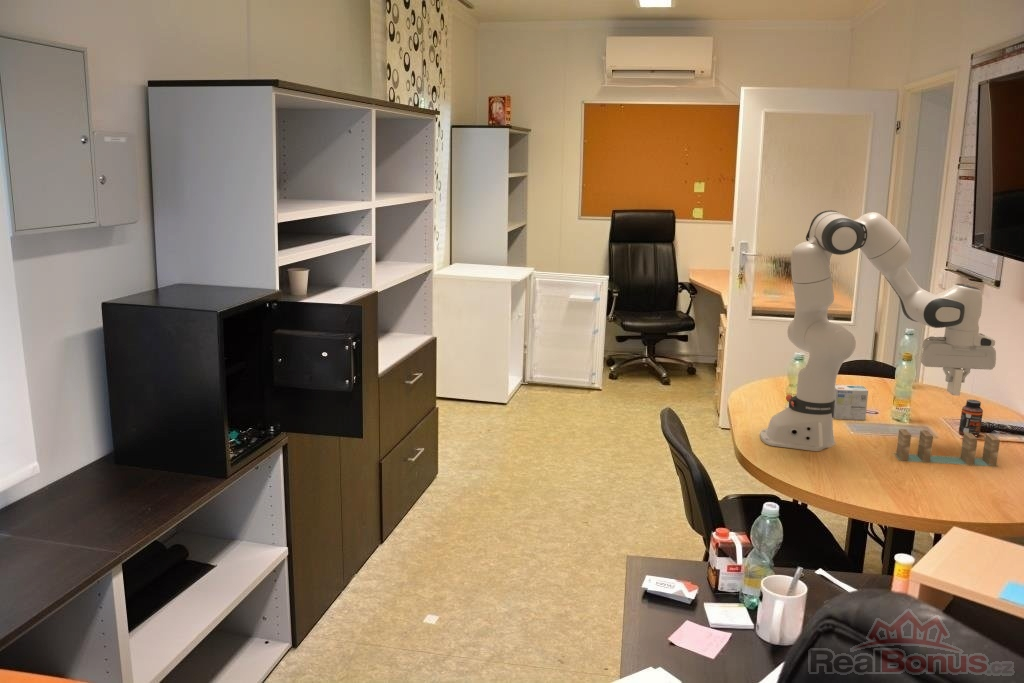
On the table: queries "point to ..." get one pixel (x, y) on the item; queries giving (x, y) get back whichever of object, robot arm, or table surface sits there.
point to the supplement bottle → (971, 418)
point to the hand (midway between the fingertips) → (954, 381)
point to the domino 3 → (955, 381)
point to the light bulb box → (850, 402)
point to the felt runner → (945, 460)
